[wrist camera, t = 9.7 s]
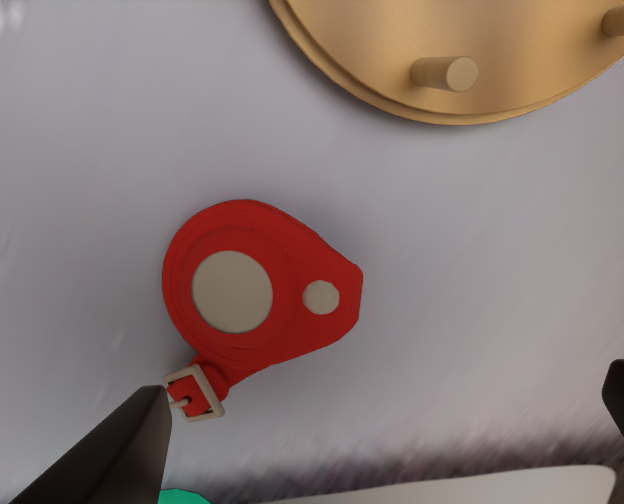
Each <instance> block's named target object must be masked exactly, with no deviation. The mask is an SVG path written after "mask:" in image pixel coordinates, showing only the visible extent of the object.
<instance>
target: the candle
mask: <svg viewBox="0 0 624 504" xmlns="http://www.w3.org/2000/svg"><path fill="white" fill-rule="evenodd" d="M158 504H211V503H210V502H208V501H207V500H206V499H204V498H203V497H201V496H200V495H199V494H196V493H192V492H187V491H183V490H179V489H170V490H162V491H160V494H159V499H158Z"/></svg>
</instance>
